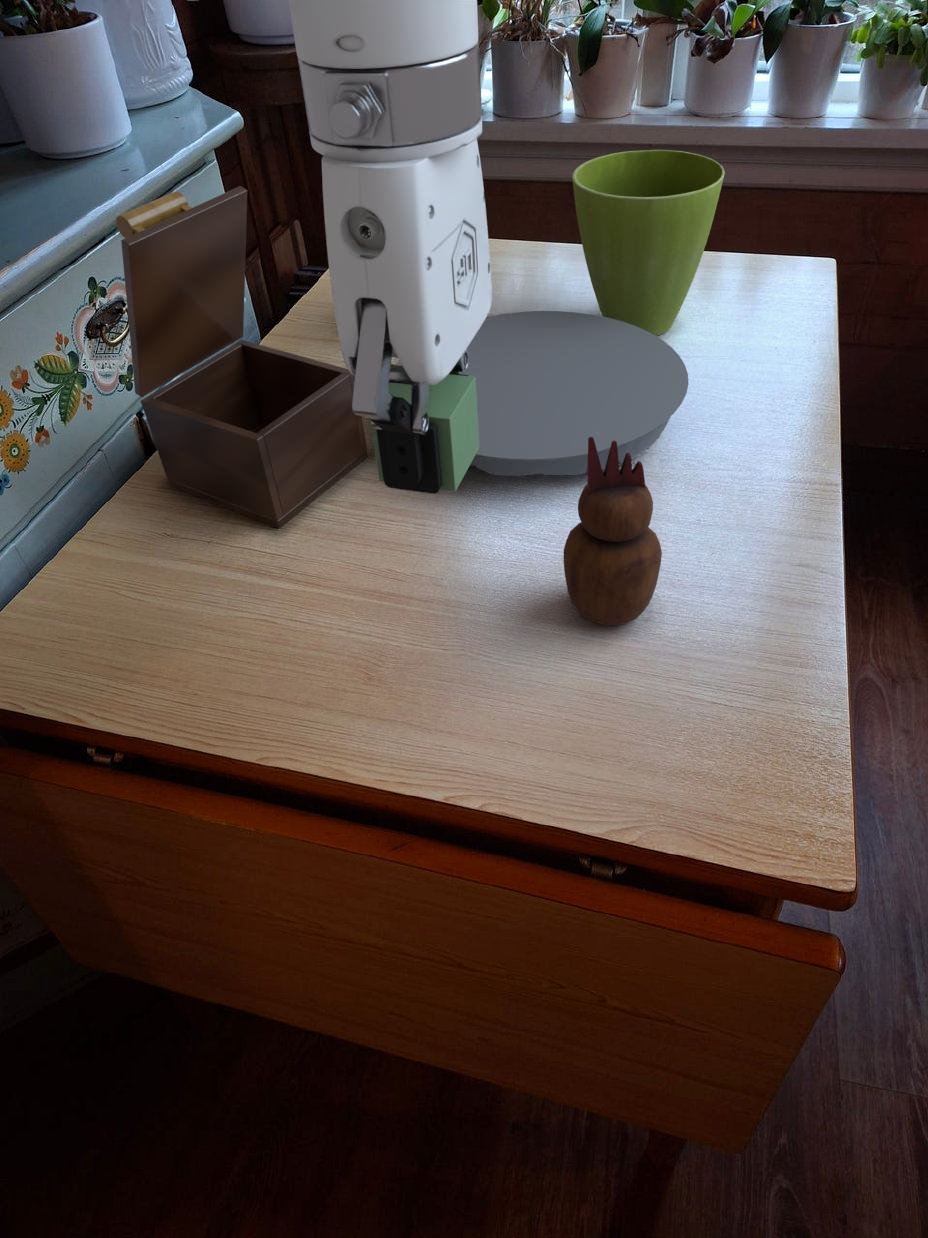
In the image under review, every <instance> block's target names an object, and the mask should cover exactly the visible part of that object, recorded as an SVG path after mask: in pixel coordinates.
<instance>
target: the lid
mask: <svg viewBox="0 0 928 1238" xmlns="http://www.w3.org/2000/svg"><path fill="white" fill-rule="evenodd" d="M247 217H248V190H247V189H246V188H244V187H243V186H241V185H240V186H239V185H238V186H237V187H235V188H233V189H230V190H229V191H226V192H224V193H222V194H219V195H217V196H215V197H213V198H211V199H209V200H206V201H204V202H202V203H200V204H198V205H195V206H190V205H189V203H188V200H187V199H186V196H184V194H183V193H181V192H180V191H173V192H170V193H168V194H166V195H164V196H161V197H159V198H157V199H154V200H152V201H149V202H148V203H147V202H146V203H145V204H143V205H140V206H138V207H136V208H134V209H132V210H129V211H127V212H124V213H122V214H120V215H118V216H117V217H116V218H115V226H116V228H117V230H118V232H119V234H120V236H122V237H123V239H121V241H120V242H121V243H120V244H121V254H122V264H123V275H124V285H125V297H126V307H127V319H128V330H129V338H130V339H129V341H130V350H131V352H130V354H131V362H132V373H133V374H132V375H133V386H134V393H135V394H136V395H137V396H139V397H140V398H145V396H148V394H149V395H150V394H151V393H153V391H154V392H155V391H156V390H158V389H160V387H163V386H165V385H166V384H168V383H170V382H171V381H173V380H175V379H176V378H178V377H180V375H183V373H184V374H185V372H188V370H189V371H190V370H191V369H193V367H194V368H195V367H196V366H198V365H200V363H203V362H205V361H206V360H208V358H209V359H210V358H211V357H213V356H215V354H218V353H220V352H221V351H223V349H224V350H225V349H226V348H228V347H230V346H231V345H233V344H235V343H236V342H238V341H240V340H241V339H242V338H244V328H245V327H244V326H245V324H244V323H245V288H246V286H245V285H246V257H247V256H246V254H247V253H246V250H247V220H248V219H247Z"/></svg>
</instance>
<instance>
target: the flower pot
mask: <svg viewBox="0 0 928 1238" xmlns="http://www.w3.org/2000/svg"><path fill="white" fill-rule="evenodd" d="M724 178H725V168H724V166H723V165H721V164H720V163H719V162H718V161H716V160H715V159H712V158H710V157H708V156H705V155H701V154H698V153H693V152H689V151H683V150H674V149H673V150H672V149H671V150H670V149H645V150H629V151H621V152H615V153H609V154H605V155H601V156H598V157H595V158H592V159H590V160H587V161H585V162H583V163H581V164H580V165H579V166H577V167H576V168H575V169H574V171H573V172H572V176H571V179H572V189H573V196H574V197H573V198H574V204H575V205H574V206H575V211H576V212H575V213H576V218H577V225H578V231H579V235H580V240H581V246H582V249H583V256H584V259H585V264H586V267H587V271H588V275H589V278H590V282H591V285H592V290H593V293H594V296H595V298H596V302H597V305H598V308H599V311H600V314H601V316H602V317H607V318H611V319H615V320H619V321H622V322H625V323H628V324H631V325H634V326H637V327H639V328H641V329H643V330H645V331H648V332H650V333H652V334H653V335H655V336H657V337H658V336H661V335H663V334H665V333H667V332H668V331H669V330H670V329H671V328H672V326H673V324H674V323H675V321H676V319H677V317H678V314H679V312H680V311H681V309H682V306H683V305H684V302H685V300H686V297H687V295H688V293H689V290H690V289H691V286H692V283H693V281H694V279H695V276H696V274H697V272H698V268H699V266H700V263H701V259H702V257H703V254H704V251H705V248H706V245H707V242H708V238H709V237H710V232H711V229H712V225H713V221H714V218H715V214H716V211H717V206H718V204H719V203H718V202H719V199H720V194H721V191H722V186H723V183H724Z"/></svg>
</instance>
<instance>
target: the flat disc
mask: <svg viewBox="0 0 928 1238" xmlns="http://www.w3.org/2000/svg"><path fill="white" fill-rule="evenodd" d="M467 348H468V355H469V361H468V367H467V370H466V372H459V374H463V375H468V376H471V377H475V378H476V394H477V412H478V430H479V449H478V451H477V453H476V455H475V457H474V459H473V460H472V462H471V464H470V466H472V467H476V468H477V469H479V470H481V471H483V472H486V473H488V474H490V475H496V476H497V475H498V476H510V477H513V476H518V477H523V476H531V475H536V474H539V475H541V474H542V475H544V476H578V475H582V474H587V469H588V438H589V437H593V438H594V442H595V445H596V449H597V453H598V457H599V460H600V464H601V468H602V470H604V469H605V467H606V463H607V459H608V455H609V451H610V447H611V443H612V441H616V442H617V450H618V460H619V463H623V460H624V458H625V455H626V453H630V455H631V459H635V458H638V457H639V456H640V455H641V454H642V453H643V452H645V451H646V450H648V449H650V448H651V446H653V445H654V444H655V442H657V441H658V440H659V439H660V437H661V435H662V433H663V432H664V430H666V427H667V425H668V423H669V421H670V419H671V417H672V416H673V415H674V414H675V413H676V411H677V410H678V409H679V408H680V407H681V406H682V404H683V402H684V400H685V398H686V396H687V393H688V389H689V373H688V371H687V366H686V364H685V363H684V361H683V360H682V358H681V356H680V355H679V354H678V352H676V350H675V349H674V348H673V347H672V346H670V345H669V344H668V343H667V342H666V341H664V340H663V339H662V338H660V337H658V336H655V335H653V334H652V333H650V332H648V331H645V330H643V329H641V328H639V327H637V326H634V325H631V324H628V323H625V322H622V321H619V320H615V319H611V318H607V317H602V315H598V314H591V313H585V312H584V313H583V312H577V311H576V312H575V311H563V310H562V311H561V310H530V311H528V310H527V311H515V312H506V313H500V314H495V315H489V316H488V315H487V317H486V319H485V320H484V322H483V324H482V325H481V327H480V328H479V330H478V332H477V333H476V335H475V336H474V338H473V339H472V341H471V342H470V344H469V346H468V347H467ZM395 365H400V366H402V364H401V362H400V360H399V359H398V361H397V362H396V364H395Z"/></svg>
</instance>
